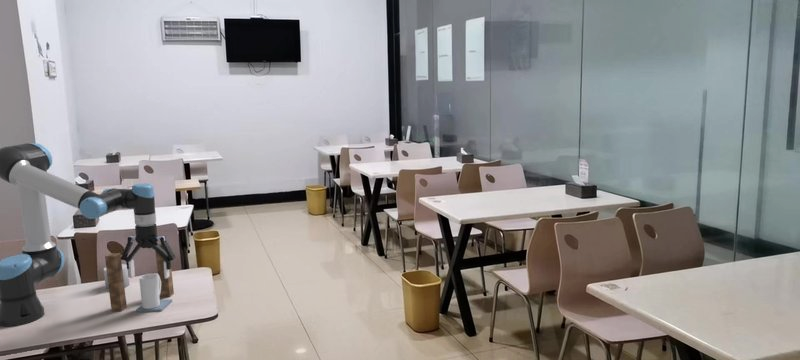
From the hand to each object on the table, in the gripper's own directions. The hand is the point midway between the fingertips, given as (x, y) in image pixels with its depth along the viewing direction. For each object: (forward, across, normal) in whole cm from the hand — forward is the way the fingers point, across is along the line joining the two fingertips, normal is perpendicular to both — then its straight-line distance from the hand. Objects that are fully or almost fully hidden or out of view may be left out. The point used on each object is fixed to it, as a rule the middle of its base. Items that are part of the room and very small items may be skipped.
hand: (149, 277), depth 226 cm
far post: (+12, +1, +12) cm, 17 cm away
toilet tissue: (+13, -26, +25) cm, 39 cm away
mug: (+11, +1, 0) cm, 11 cm away
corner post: (+12, -12, -2) cm, 17 cm away
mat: (+12, +1, 0) cm, 12 cm away
